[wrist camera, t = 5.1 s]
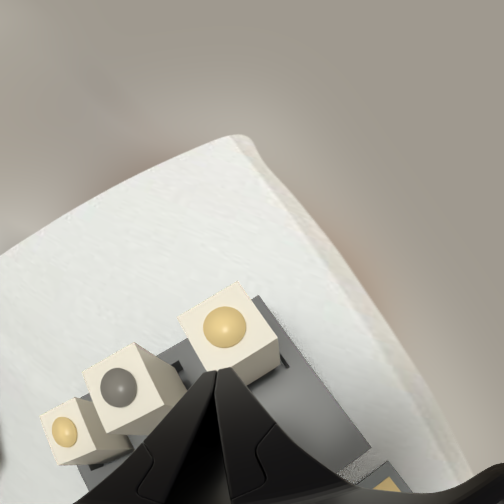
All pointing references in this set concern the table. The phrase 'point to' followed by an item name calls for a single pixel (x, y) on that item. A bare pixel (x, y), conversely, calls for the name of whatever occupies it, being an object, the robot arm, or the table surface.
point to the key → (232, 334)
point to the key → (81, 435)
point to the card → (385, 480)
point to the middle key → (133, 390)
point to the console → (272, 405)
